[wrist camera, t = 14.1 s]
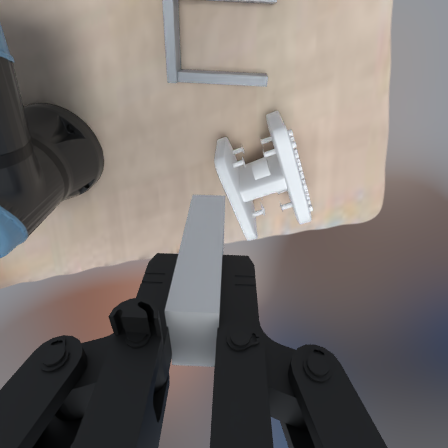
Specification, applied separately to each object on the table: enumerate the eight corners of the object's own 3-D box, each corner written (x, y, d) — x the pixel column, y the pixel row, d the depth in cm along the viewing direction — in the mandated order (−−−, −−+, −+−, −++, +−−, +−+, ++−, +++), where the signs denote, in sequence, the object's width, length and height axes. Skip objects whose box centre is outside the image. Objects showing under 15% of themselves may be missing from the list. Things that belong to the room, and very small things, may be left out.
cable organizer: (214, 130, 45) (208, 158, 36) (279, 105, 43) (292, 127, 33) (245, 206, 53) (247, 246, 43) (302, 188, 50) (317, 227, 41)
